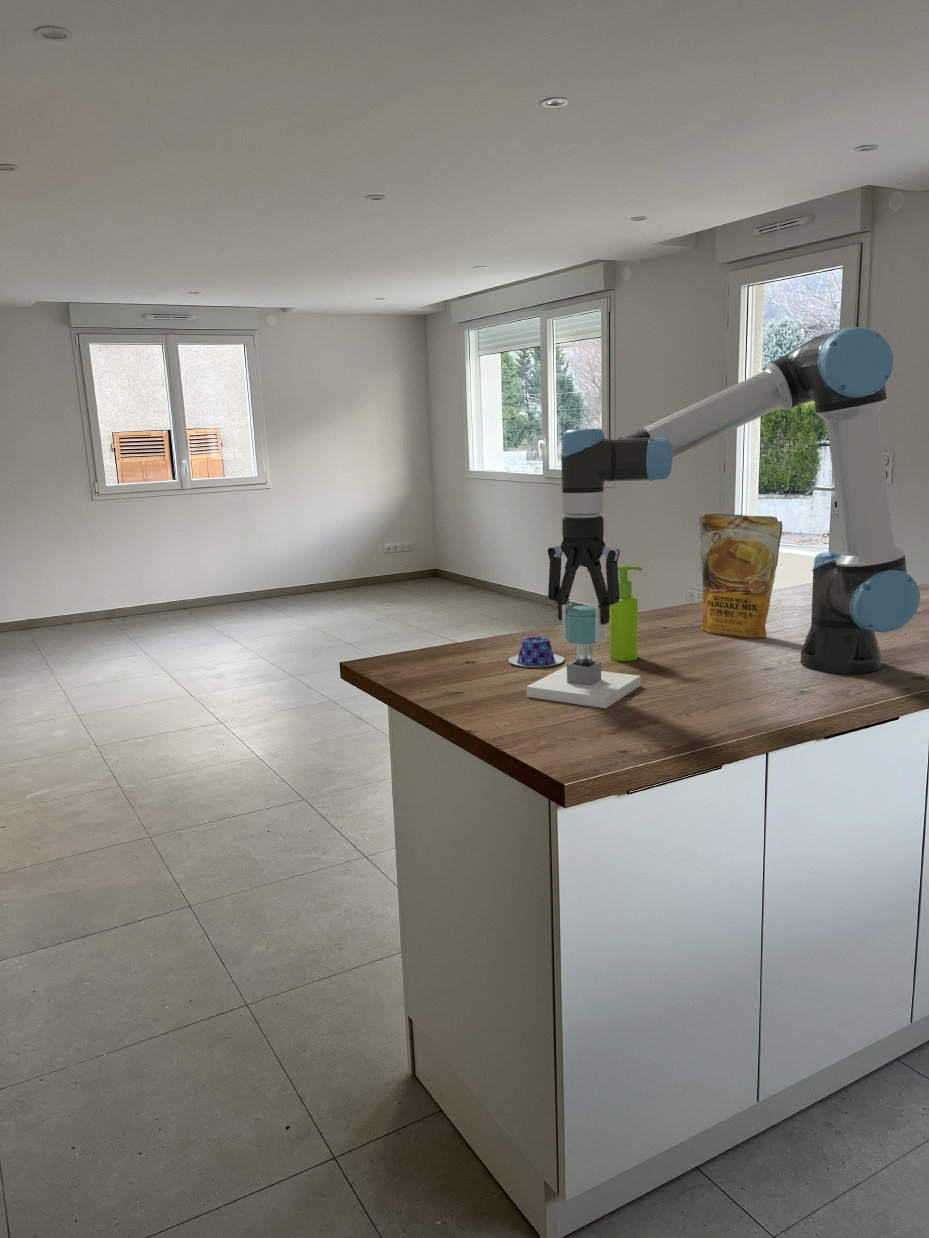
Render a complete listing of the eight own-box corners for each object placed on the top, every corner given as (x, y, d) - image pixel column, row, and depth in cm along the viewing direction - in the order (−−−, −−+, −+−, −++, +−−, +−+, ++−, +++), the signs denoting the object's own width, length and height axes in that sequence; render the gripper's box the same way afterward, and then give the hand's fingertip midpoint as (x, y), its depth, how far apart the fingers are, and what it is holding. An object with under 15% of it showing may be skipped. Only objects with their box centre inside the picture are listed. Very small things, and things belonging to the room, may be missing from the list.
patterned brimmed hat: (528, 673, 186) (527, 648, 185) (498, 661, 196) (497, 638, 195) (575, 664, 192) (575, 640, 191) (543, 653, 202) (543, 630, 201)
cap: (605, 638, 169) (605, 607, 168) (591, 645, 164) (591, 613, 163) (575, 635, 173) (575, 604, 171) (561, 642, 168) (561, 610, 167)
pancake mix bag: (704, 626, 222) (706, 512, 216) (779, 635, 209) (784, 515, 204) (691, 631, 217) (693, 515, 211) (767, 641, 204) (772, 517, 199)
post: (595, 672, 170) (595, 620, 168) (588, 676, 168) (587, 623, 166) (580, 670, 172) (579, 619, 170) (572, 674, 169) (572, 622, 167)
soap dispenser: (642, 661, 191) (642, 568, 187) (609, 660, 192) (608, 568, 188) (642, 654, 196) (642, 563, 192) (610, 654, 198) (610, 564, 194)
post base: (640, 685, 173) (640, 658, 172) (605, 708, 160) (605, 678, 159) (565, 676, 181) (564, 649, 180) (526, 696, 168) (526, 668, 167)
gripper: (640, 514, 162) (639, 639, 167) (546, 512, 172) (547, 630, 177) (623, 518, 156) (623, 648, 160) (526, 516, 166) (529, 638, 171)
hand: (583, 638), depth 169 cm, fingers closed on cap, 6 cm apart
